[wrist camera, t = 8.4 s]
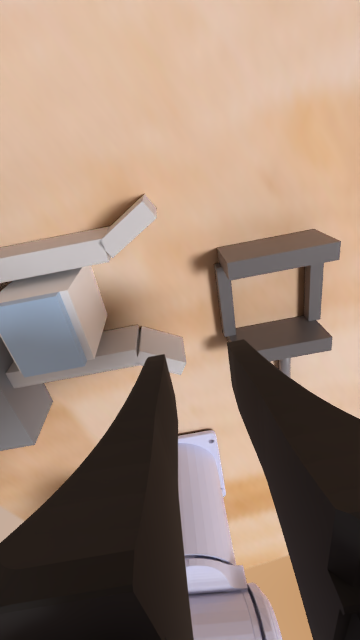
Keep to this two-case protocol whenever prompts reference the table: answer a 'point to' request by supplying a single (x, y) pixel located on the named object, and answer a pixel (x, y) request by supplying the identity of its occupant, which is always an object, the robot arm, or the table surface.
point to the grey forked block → (115, 345)
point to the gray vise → (275, 256)
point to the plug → (52, 320)
